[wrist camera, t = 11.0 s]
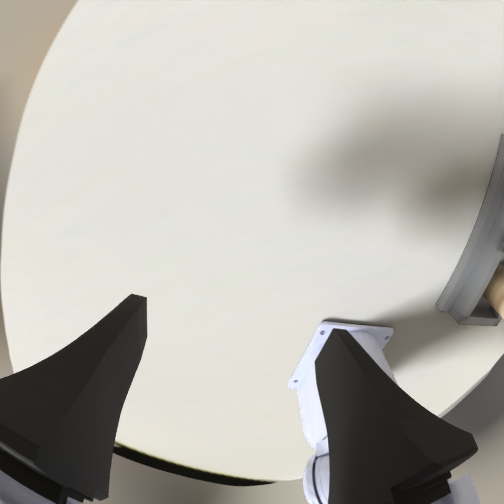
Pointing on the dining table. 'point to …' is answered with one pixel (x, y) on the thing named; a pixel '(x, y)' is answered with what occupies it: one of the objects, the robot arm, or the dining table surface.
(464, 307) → the rack
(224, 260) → the dining table surface
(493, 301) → the oak peg
